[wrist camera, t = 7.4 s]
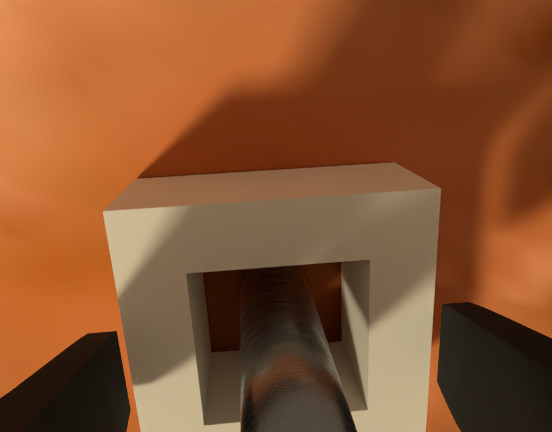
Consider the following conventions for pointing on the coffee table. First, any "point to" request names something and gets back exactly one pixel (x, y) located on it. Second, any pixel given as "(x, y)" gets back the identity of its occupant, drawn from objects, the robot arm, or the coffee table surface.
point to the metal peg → (286, 358)
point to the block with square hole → (272, 253)
